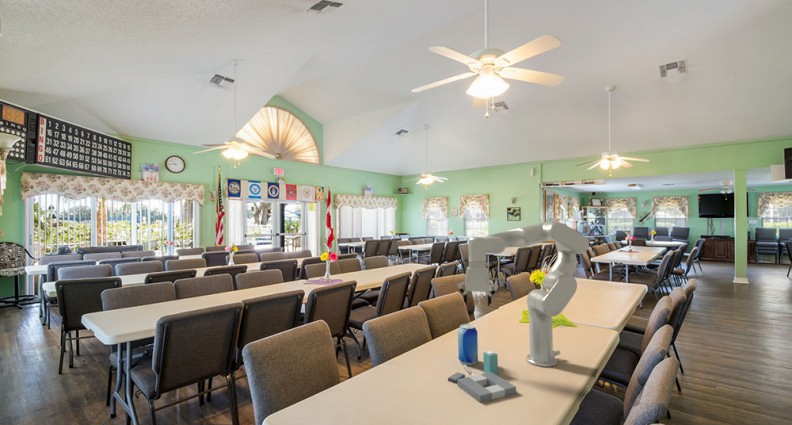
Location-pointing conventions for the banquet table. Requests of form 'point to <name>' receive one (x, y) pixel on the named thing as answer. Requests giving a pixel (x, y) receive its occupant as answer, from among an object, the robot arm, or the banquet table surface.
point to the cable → (468, 370)
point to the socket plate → (481, 394)
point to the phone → (456, 377)
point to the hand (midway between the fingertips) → (477, 304)
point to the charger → (490, 362)
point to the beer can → (468, 344)
